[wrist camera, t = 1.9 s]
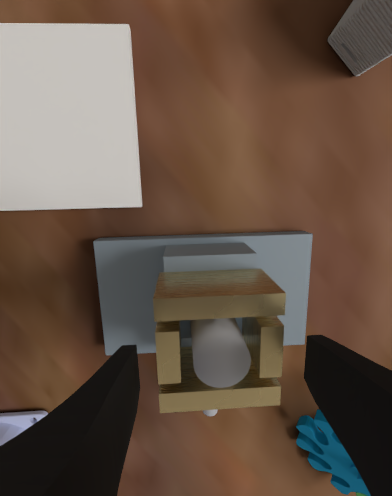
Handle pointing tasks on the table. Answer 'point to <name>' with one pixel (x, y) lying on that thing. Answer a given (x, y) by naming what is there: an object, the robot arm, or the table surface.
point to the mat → (67, 117)
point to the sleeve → (214, 307)
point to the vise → (199, 259)
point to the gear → (329, 454)
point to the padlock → (364, 34)
